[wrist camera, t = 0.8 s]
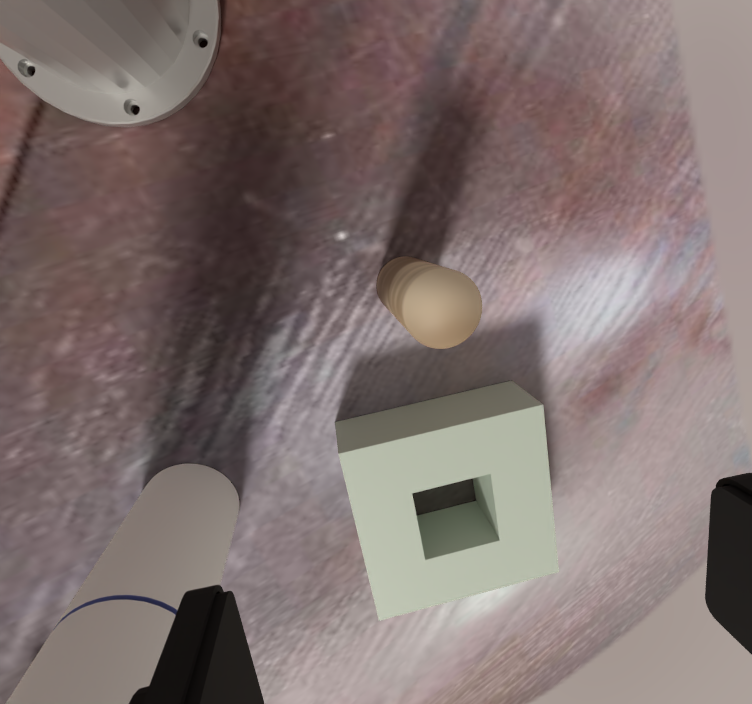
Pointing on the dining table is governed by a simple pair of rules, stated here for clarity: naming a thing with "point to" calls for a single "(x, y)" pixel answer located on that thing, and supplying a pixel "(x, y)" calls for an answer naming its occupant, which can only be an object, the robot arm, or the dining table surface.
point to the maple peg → (430, 301)
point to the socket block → (458, 523)
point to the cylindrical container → (136, 591)
